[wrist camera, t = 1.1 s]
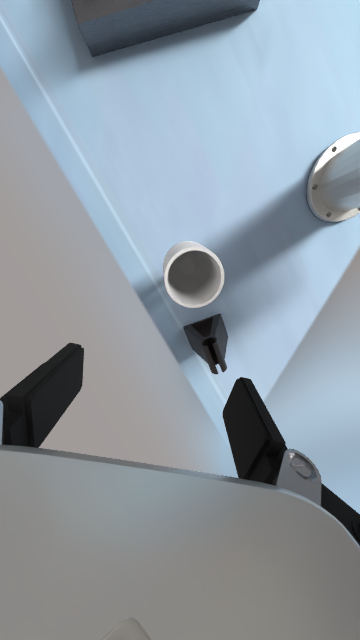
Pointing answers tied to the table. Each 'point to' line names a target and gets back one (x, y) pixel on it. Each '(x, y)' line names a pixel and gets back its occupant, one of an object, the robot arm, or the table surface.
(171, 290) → the champagne flute
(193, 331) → the phone stand
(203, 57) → the table surface
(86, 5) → the block
